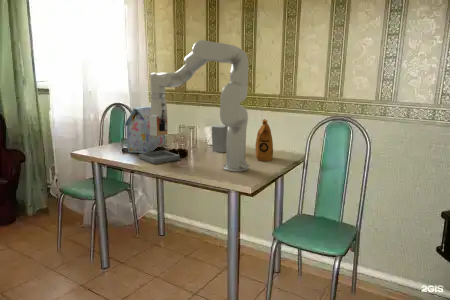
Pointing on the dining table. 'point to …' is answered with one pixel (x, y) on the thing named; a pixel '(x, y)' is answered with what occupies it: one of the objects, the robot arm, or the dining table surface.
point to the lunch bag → (141, 132)
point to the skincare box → (219, 138)
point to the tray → (159, 157)
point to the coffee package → (264, 143)
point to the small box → (156, 126)
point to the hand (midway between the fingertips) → (158, 129)
